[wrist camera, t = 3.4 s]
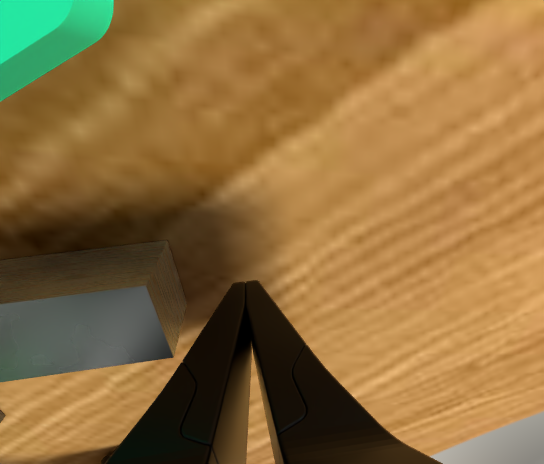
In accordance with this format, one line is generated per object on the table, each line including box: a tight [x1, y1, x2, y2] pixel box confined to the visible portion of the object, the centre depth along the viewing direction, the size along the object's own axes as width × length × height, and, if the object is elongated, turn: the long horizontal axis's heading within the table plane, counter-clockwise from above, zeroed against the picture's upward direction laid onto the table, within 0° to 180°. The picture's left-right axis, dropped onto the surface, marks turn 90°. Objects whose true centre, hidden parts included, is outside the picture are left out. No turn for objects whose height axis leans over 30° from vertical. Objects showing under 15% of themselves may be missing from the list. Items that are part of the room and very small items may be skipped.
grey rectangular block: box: [0, 240, 187, 382], centre depth 9 cm, size 3×8×2 cm, turn 95°
